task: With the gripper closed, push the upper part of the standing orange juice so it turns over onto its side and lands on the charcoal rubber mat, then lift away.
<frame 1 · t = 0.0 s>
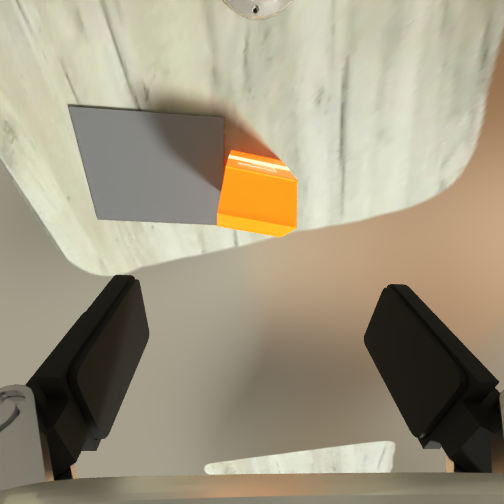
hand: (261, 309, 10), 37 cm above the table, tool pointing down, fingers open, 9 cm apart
orange juice: (252, 177, 43), on the table
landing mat: (156, 172, 42), on the table
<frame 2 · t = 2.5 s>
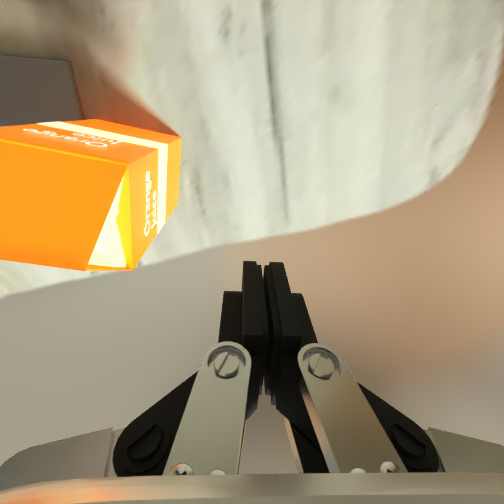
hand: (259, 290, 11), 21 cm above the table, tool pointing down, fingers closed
orange juice: (141, 164, 28), on the table
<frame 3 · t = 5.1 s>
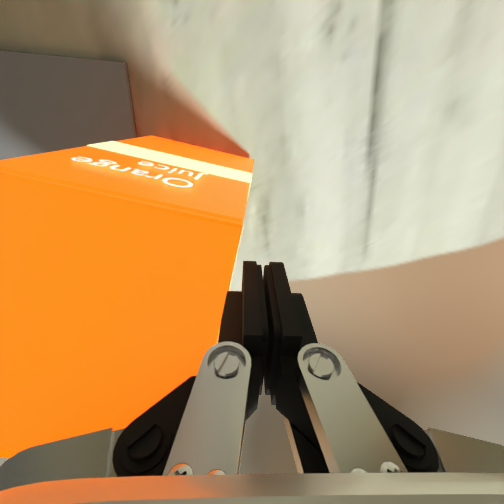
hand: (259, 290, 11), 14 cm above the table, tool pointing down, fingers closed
orange juice: (199, 190, 23), on the table, touching gripper
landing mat: (9, 178, 22), on the table
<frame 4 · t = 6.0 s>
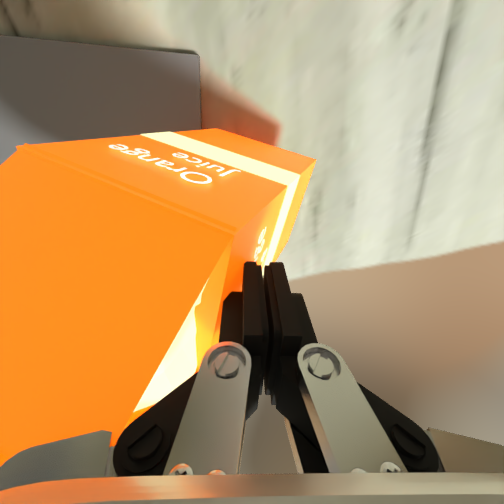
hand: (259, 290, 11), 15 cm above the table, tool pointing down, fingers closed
orange juice: (254, 187, 22), point 2 cm above the table, touching gripper, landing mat
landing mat: (73, 169, 22), on the table
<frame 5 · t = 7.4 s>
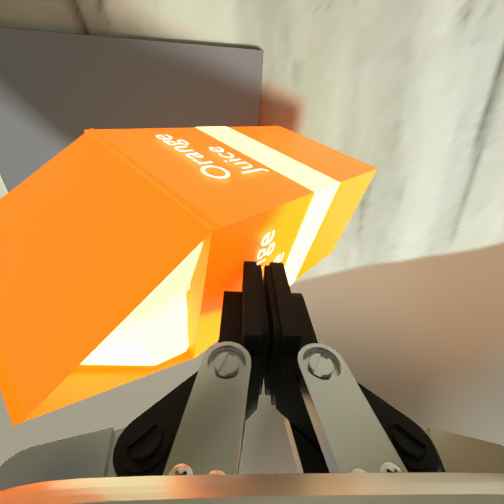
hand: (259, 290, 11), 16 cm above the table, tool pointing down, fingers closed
orange juice: (307, 190, 21), point 3 cm above the table, touching gripper, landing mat
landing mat: (130, 165, 23), on the table
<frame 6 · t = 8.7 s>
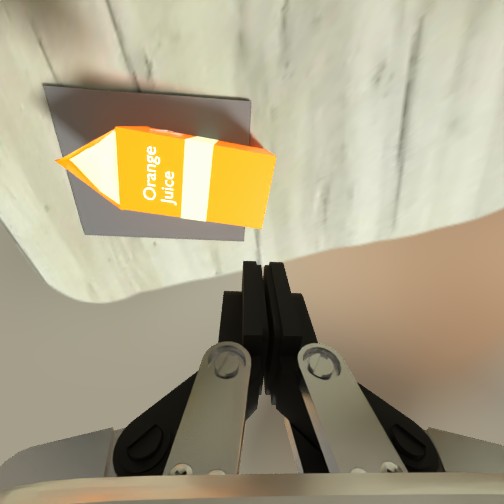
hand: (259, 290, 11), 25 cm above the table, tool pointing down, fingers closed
orange juice: (265, 186, 29), point 5 cm above the table, touching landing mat
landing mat: (160, 174, 33), on the table
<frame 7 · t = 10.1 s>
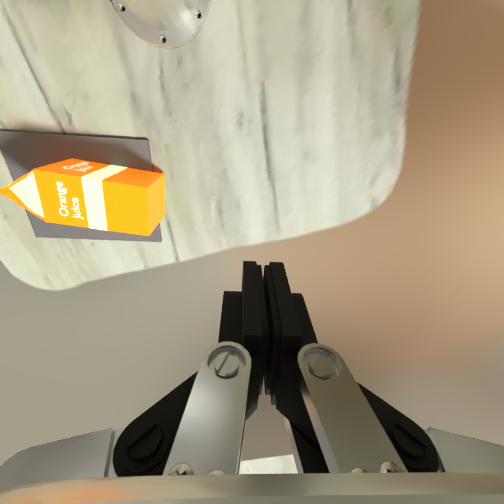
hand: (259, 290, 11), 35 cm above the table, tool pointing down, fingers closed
orange juice: (158, 203, 40), point 5 cm above the table, touching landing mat
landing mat: (88, 191, 43), on the table
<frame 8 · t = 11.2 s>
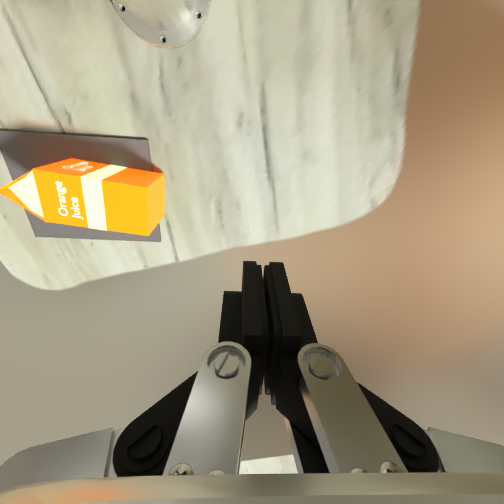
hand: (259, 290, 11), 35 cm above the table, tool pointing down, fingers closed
orange juice: (158, 203, 39), point 5 cm above the table, touching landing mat
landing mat: (88, 191, 43), on the table
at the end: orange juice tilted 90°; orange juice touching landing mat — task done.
